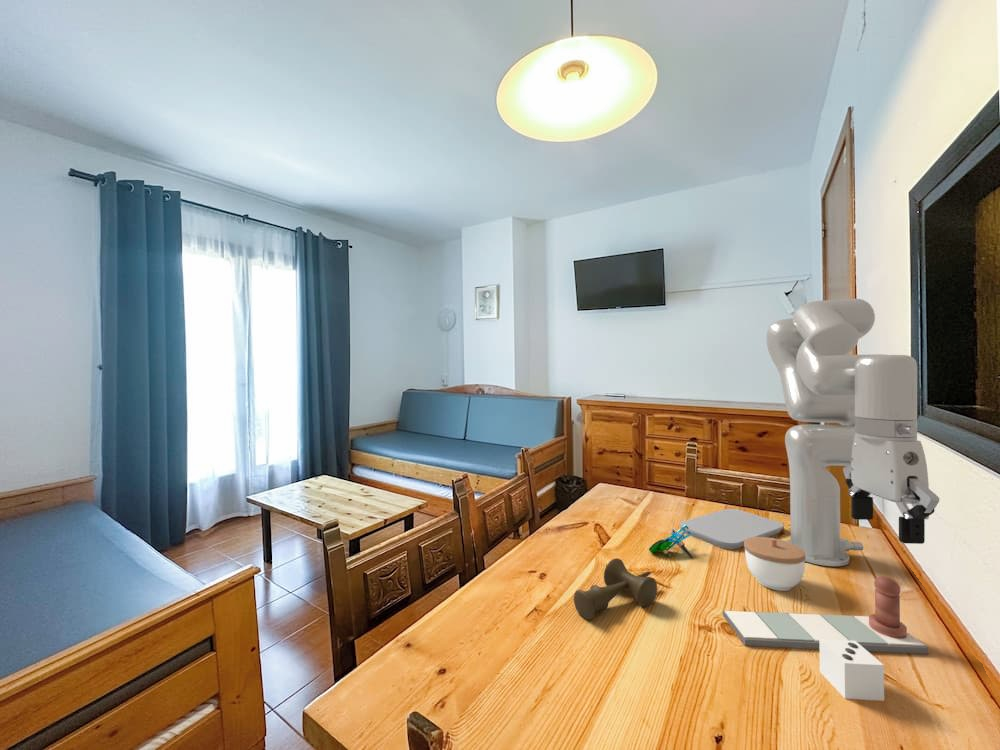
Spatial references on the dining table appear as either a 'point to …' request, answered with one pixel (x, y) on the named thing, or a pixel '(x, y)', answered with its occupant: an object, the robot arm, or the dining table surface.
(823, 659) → the die
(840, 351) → the robot arm
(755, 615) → the track board
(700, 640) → the dining table surface
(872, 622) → the pawn
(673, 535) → the stick construction toy
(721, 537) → the tablet
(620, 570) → the kendama
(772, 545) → the lidded jar
